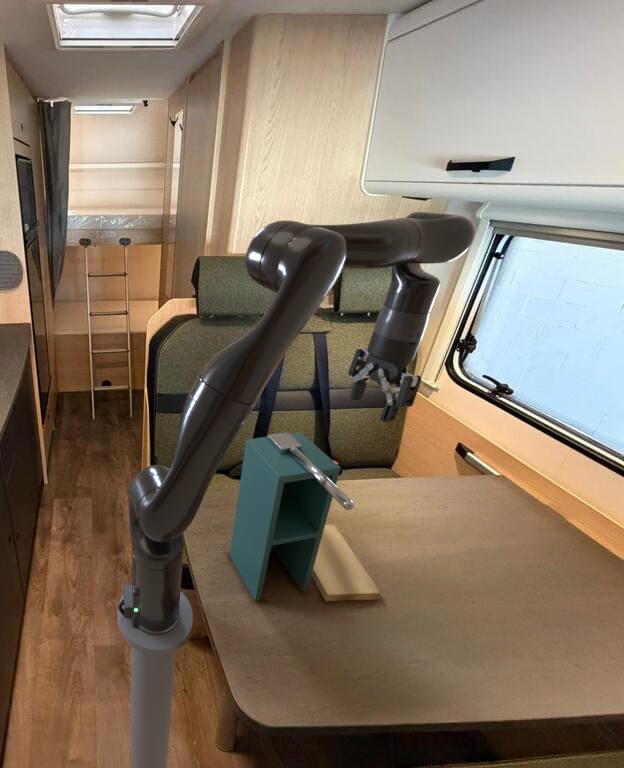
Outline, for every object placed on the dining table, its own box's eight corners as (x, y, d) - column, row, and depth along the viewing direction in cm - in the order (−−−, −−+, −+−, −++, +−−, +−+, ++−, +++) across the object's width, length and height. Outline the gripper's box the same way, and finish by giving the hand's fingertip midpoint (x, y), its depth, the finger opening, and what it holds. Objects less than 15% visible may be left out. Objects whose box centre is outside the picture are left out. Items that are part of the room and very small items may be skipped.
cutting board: (325, 601, 86) (327, 594, 85) (288, 531, 103) (289, 525, 103) (378, 599, 86) (380, 592, 86) (332, 530, 104) (334, 524, 103)
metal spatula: (266, 439, 83) (267, 433, 82) (286, 437, 84) (288, 430, 83) (337, 514, 64) (340, 506, 64) (362, 509, 65) (365, 501, 64)
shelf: (229, 555, 97) (246, 439, 83) (276, 546, 99) (300, 432, 85) (255, 601, 87) (279, 477, 73) (307, 590, 89) (340, 467, 75)
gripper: (352, 320, 81) (330, 393, 89) (410, 347, 69) (379, 430, 76) (387, 319, 83) (362, 392, 90) (449, 346, 70) (415, 428, 77)
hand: (370, 409), depth 83 cm, fingers open, 8 cm apart
